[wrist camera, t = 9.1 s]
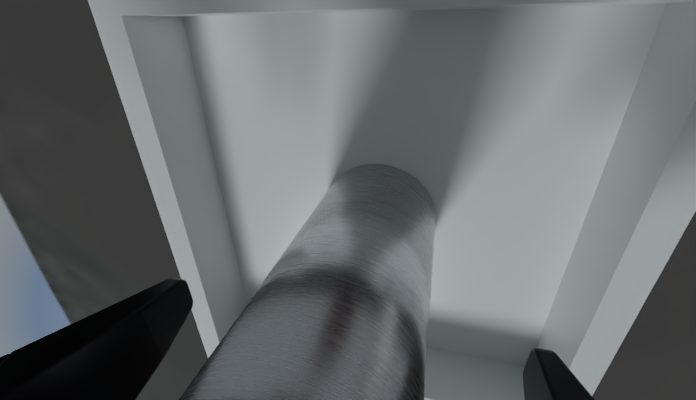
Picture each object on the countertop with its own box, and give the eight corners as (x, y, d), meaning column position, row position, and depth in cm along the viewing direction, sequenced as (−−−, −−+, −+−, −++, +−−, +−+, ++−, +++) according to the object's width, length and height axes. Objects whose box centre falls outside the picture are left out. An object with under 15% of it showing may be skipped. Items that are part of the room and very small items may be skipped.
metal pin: (452, 161, 11) (464, 587, 3) (436, 274, 14) (416, 692, 5) (314, 151, 12) (28, 427, 4) (321, 256, 15) (152, 572, 6)
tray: (724, -47, 8) (857, -79, 5) (544, 376, 15) (563, 446, 13) (160, -16, 12) (79, -26, 9) (239, 312, 19) (207, 357, 17)
